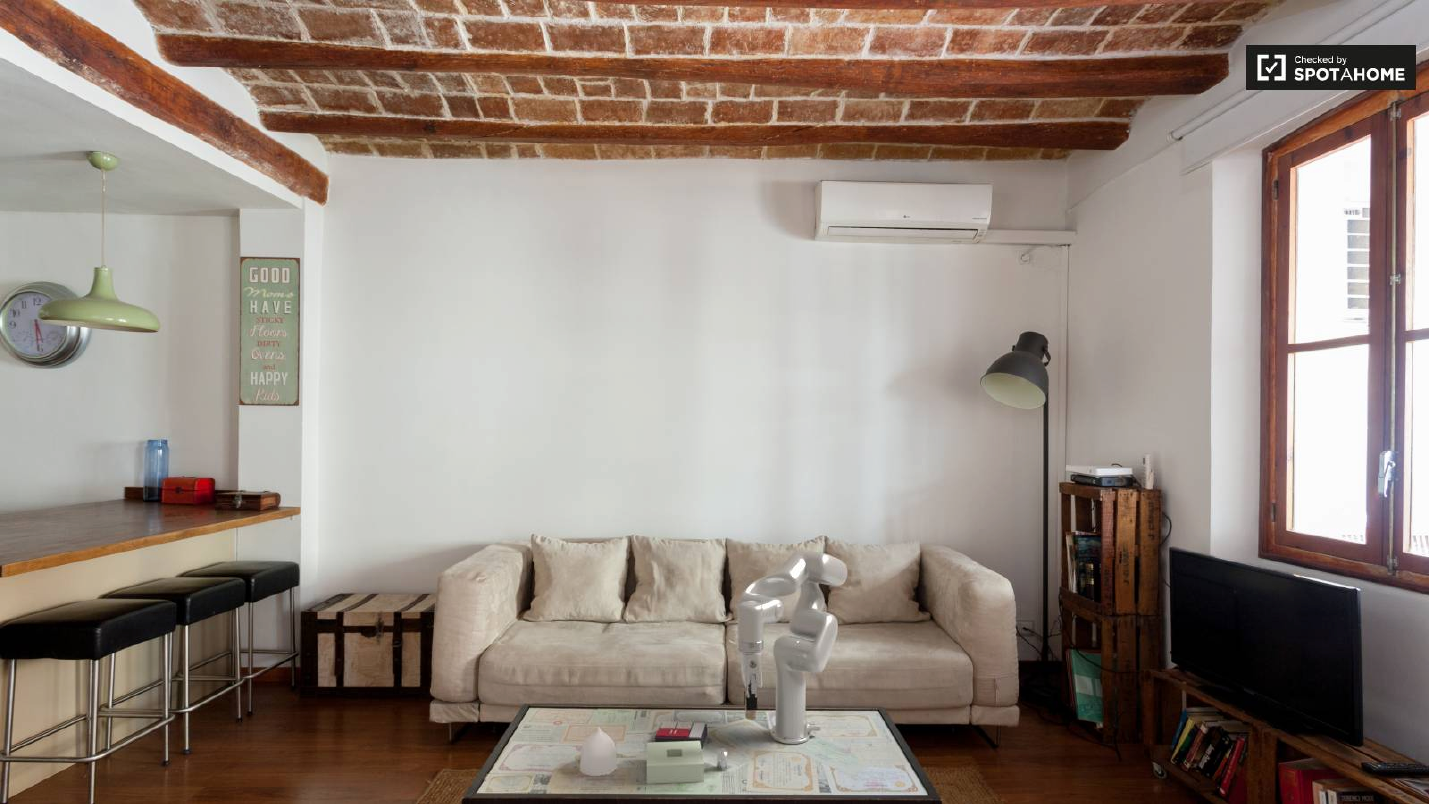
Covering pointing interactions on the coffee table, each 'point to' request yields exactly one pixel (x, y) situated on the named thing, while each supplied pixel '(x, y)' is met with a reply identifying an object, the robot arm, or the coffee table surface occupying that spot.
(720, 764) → the short pin
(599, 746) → the teardrop
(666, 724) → the calculator
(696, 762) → the peg block
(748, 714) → the long pin
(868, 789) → the coffee table surface
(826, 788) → the coffee table surface
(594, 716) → the coffee table surface
